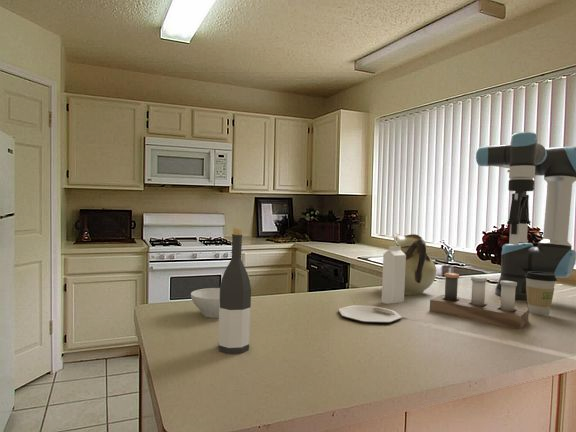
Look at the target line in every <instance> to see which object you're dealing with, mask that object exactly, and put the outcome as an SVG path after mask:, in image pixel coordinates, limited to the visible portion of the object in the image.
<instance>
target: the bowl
mask: <svg viewBox="0 0 576 432" xmlns="http://www.w3.org/2000/svg"><path fill="white" fill-rule="evenodd" d="M190 298H191V302H192V303H193V305H194V306H195V307H196V308H197V309H198V310H199V311H200V312H201V314H202V316H204V317H206V318H211V319H213V318H214V319H215V318H217V319H219V301H220V287H210V288H201V289H195V290H193V291H191V292H190Z"/></svg>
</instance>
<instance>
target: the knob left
mask: <svg viewBox="0 0 576 432" xmlns="http://www.w3.org/2000/svg"><path fill="white" fill-rule="evenodd" d="M500 284H501V296H500V303H499V304H500V309H501V310H505V311H514V307H516V306H515V304H516V303H515V302H516V298H515V288H516V286H517V282H513V281H500Z"/></svg>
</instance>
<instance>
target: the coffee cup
mask: <svg viewBox="0 0 576 432" xmlns="http://www.w3.org/2000/svg"><path fill="white" fill-rule="evenodd" d="M525 278H526V292H527V299H526V302H527V308H528V309H529V313H530V314H534V315H540V316H546V317H549V316H550V312H551V307H552V302H553V297H554V292H555V286H556V285H555V284H556V282H557V277H555V274H552V273H546V272H536V271H528V272H527V274H526V275H525Z"/></svg>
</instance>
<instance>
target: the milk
mask: <svg viewBox="0 0 576 432" xmlns="http://www.w3.org/2000/svg"><path fill="white" fill-rule="evenodd" d="M382 259H383V261H382V276H381V278H382V280H381V285H382V286H381V303H383V304H386V305H389V304H397V303H404V302H405V295H404V288H405V266H406V255H405V254H404V253H403V252H402V251H401V246H397V245H391V246H389V247H388V250H387V251H386V252H384V253H383V256H382Z"/></svg>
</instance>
